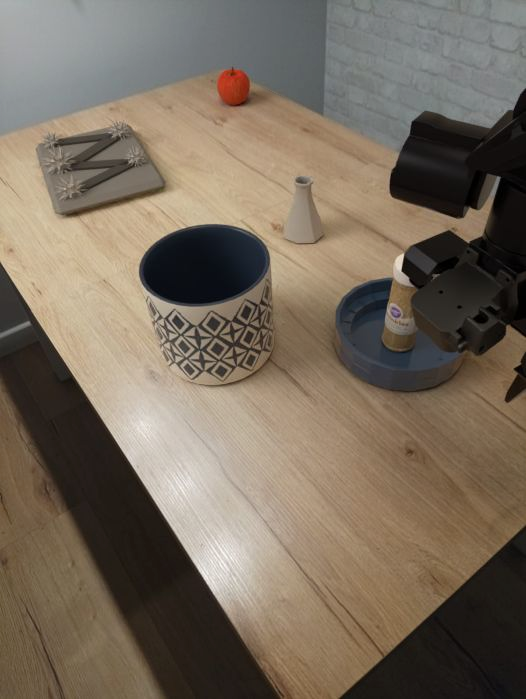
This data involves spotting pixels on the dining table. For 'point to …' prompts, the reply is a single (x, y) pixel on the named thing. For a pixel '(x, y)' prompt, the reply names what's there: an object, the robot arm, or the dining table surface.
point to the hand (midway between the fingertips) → (473, 367)
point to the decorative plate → (96, 168)
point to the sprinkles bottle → (400, 312)
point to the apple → (233, 86)
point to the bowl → (372, 355)
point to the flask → (303, 214)
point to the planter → (210, 302)
